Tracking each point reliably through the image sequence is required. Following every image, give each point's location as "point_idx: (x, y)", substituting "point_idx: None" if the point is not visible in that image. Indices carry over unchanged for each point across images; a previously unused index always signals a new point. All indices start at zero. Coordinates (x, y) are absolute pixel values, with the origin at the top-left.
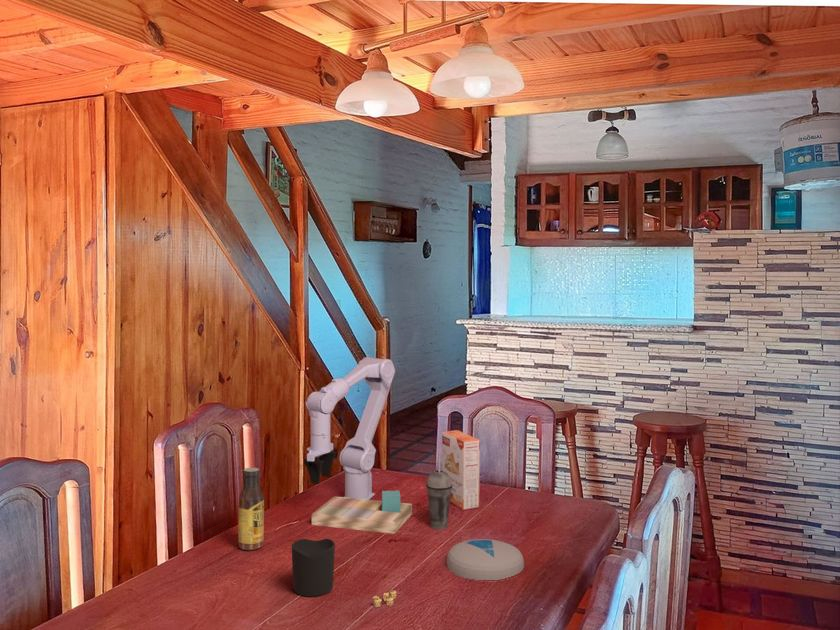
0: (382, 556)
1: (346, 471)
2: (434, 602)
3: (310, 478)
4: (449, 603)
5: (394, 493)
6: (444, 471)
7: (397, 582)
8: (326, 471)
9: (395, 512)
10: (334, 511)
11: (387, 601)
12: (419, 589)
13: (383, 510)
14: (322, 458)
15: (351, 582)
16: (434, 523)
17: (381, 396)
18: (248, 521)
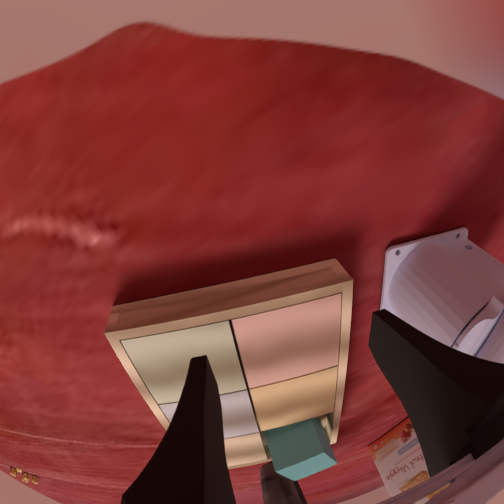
0: (98, 463)
1: (466, 330)
2: (63, 495)
3: (185, 384)
4: (73, 500)
5: (310, 470)
6: None
7: (60, 478)
8: (386, 357)
9: (264, 454)
10: (182, 376)
11: (22, 477)
12: (69, 489)
13: (267, 439)
14: (443, 404)
15: (13, 450)
16: (261, 478)
17: None
18: None
